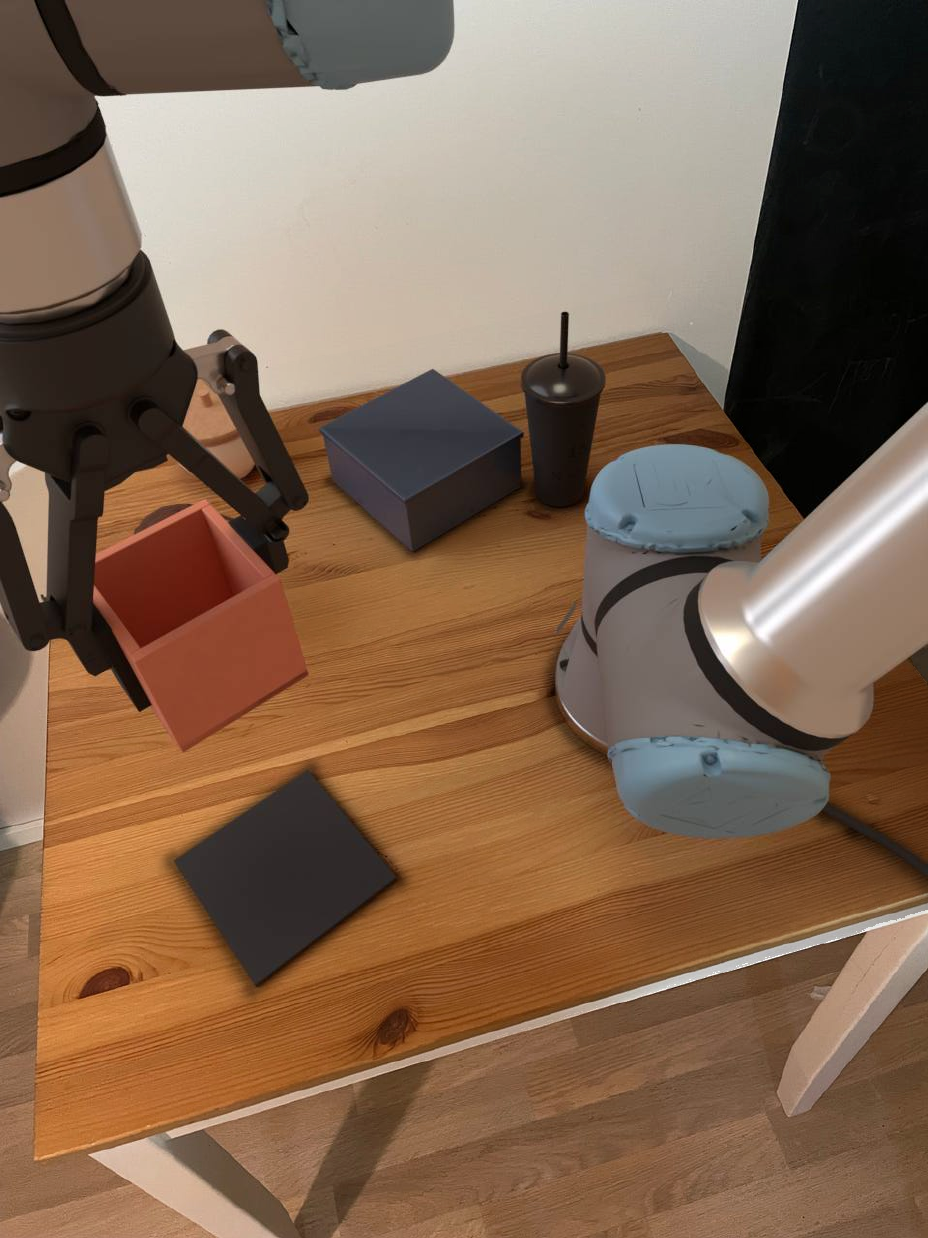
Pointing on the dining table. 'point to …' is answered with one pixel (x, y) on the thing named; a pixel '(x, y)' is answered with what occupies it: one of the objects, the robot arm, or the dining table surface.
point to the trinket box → (216, 430)
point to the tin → (423, 457)
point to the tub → (198, 621)
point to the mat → (283, 875)
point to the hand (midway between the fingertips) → (206, 651)
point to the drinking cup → (561, 419)
